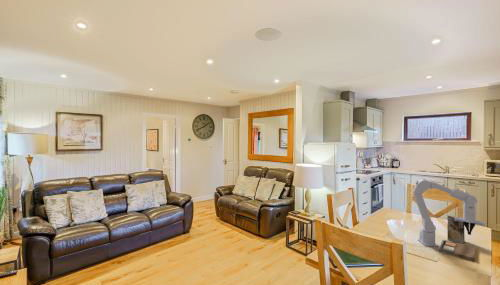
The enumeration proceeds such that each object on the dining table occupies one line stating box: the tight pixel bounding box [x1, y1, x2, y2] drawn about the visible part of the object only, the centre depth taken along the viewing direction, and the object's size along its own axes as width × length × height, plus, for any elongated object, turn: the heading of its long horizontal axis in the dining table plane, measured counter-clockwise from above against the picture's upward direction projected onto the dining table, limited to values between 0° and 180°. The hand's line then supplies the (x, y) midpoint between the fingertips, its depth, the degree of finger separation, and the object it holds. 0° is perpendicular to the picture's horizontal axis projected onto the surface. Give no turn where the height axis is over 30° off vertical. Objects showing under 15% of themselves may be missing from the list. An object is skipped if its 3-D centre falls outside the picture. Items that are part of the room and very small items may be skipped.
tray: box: [438, 239, 458, 256], centre depth 156 cm, size 7×18×2 cm, turn 136°
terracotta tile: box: [445, 241, 456, 249], centre depth 158 cm, size 5×5×2 cm
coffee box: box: [447, 215, 465, 244], centre depth 168 cm, size 9×6×16 cm
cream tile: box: [443, 245, 454, 252], centre depth 153 cm, size 5×5×2 cm
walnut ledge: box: [453, 242, 476, 262], centre depth 150 cm, size 9×20×2 cm, turn 135°
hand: (469, 234), depth 153 cm, fingers closed
